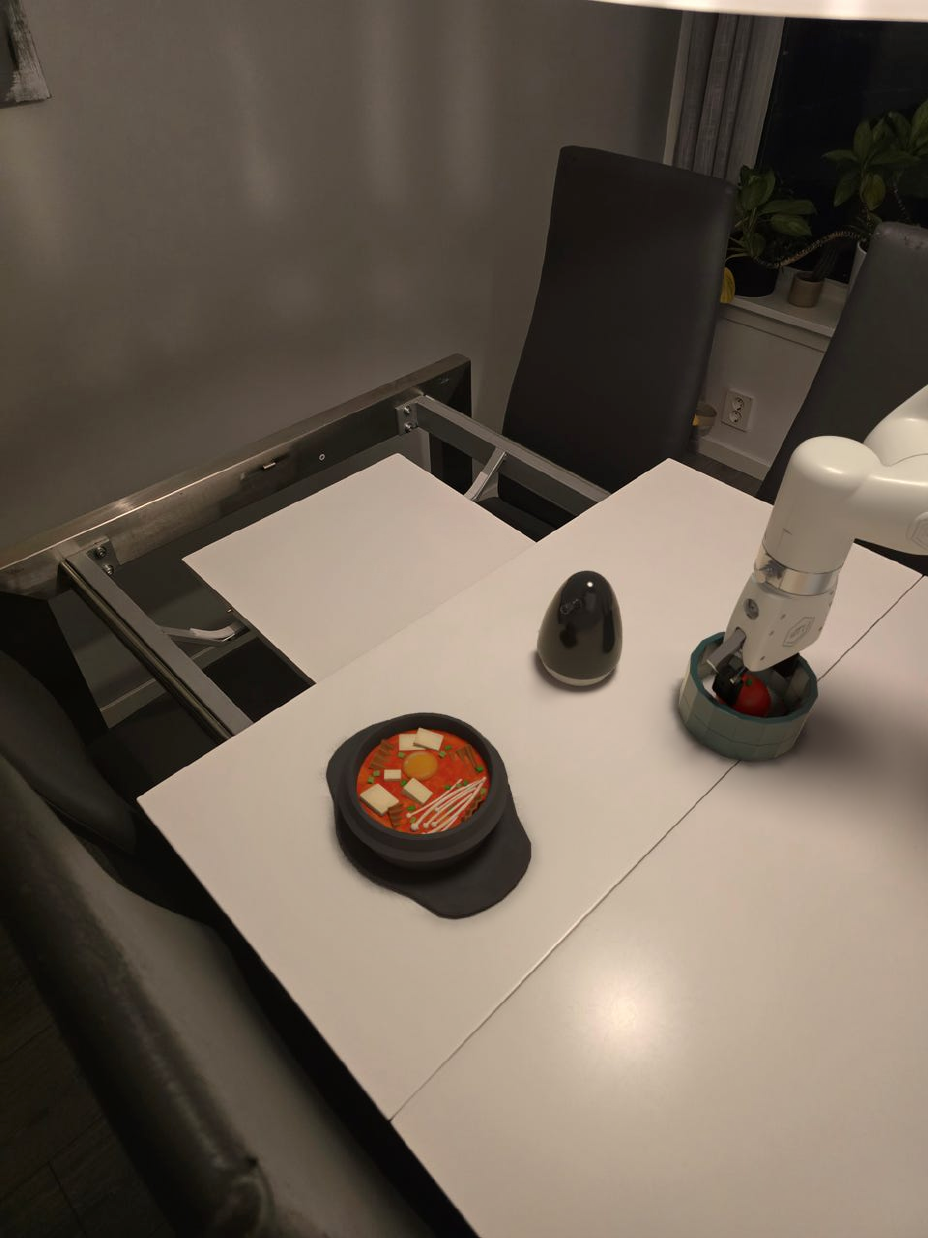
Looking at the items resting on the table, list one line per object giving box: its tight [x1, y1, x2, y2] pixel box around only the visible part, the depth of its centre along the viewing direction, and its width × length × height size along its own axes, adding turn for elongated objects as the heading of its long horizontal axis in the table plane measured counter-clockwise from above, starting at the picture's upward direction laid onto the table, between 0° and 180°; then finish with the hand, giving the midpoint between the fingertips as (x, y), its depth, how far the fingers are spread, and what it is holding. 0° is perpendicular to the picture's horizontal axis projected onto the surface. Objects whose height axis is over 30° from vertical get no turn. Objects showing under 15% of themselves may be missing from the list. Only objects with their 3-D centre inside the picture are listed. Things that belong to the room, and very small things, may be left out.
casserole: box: [325, 711, 532, 917], centre depth 80 cm, size 25×19×8 cm
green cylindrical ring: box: [677, 631, 819, 762], centre depth 89 cm, size 14×14×8 cm
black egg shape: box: [536, 569, 624, 687], centre depth 92 cm, size 10×10×15 cm
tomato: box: [714, 674, 772, 718], centre depth 89 cm, size 6×6×7 cm
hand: (750, 682), depth 87 cm, fingers open, 7 cm apart
